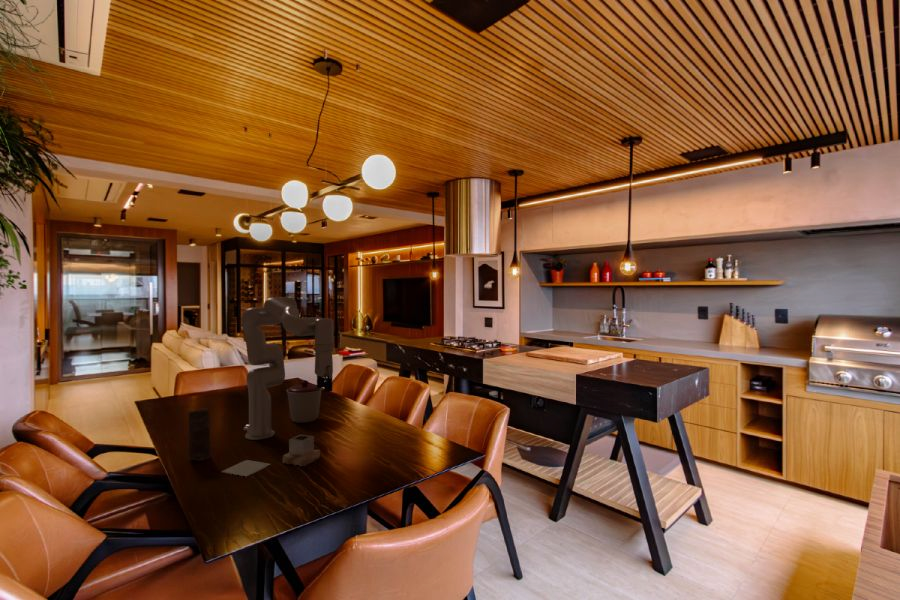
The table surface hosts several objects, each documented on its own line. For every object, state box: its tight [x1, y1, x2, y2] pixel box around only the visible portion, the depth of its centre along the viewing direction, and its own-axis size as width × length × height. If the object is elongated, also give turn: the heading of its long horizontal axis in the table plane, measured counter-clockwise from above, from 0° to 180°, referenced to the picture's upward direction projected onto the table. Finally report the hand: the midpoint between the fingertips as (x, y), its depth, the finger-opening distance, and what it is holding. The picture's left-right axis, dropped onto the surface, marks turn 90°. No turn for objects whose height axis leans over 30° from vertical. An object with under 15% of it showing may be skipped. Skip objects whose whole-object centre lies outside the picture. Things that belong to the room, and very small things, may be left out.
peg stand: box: [282, 439, 321, 467], centre depth 171 cm, size 10×10×8 cm
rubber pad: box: [220, 459, 272, 478], centre depth 163 cm, size 12×12×1 cm
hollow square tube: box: [288, 434, 315, 457], centre depth 171 cm, size 7×7×6 cm
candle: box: [188, 407, 212, 462], centre depth 172 cm, size 8×7×20 cm
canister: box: [286, 380, 324, 424], centre depth 226 cm, size 18×18×21 cm
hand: (324, 389), depth 179 cm, fingers open, 9 cm apart
